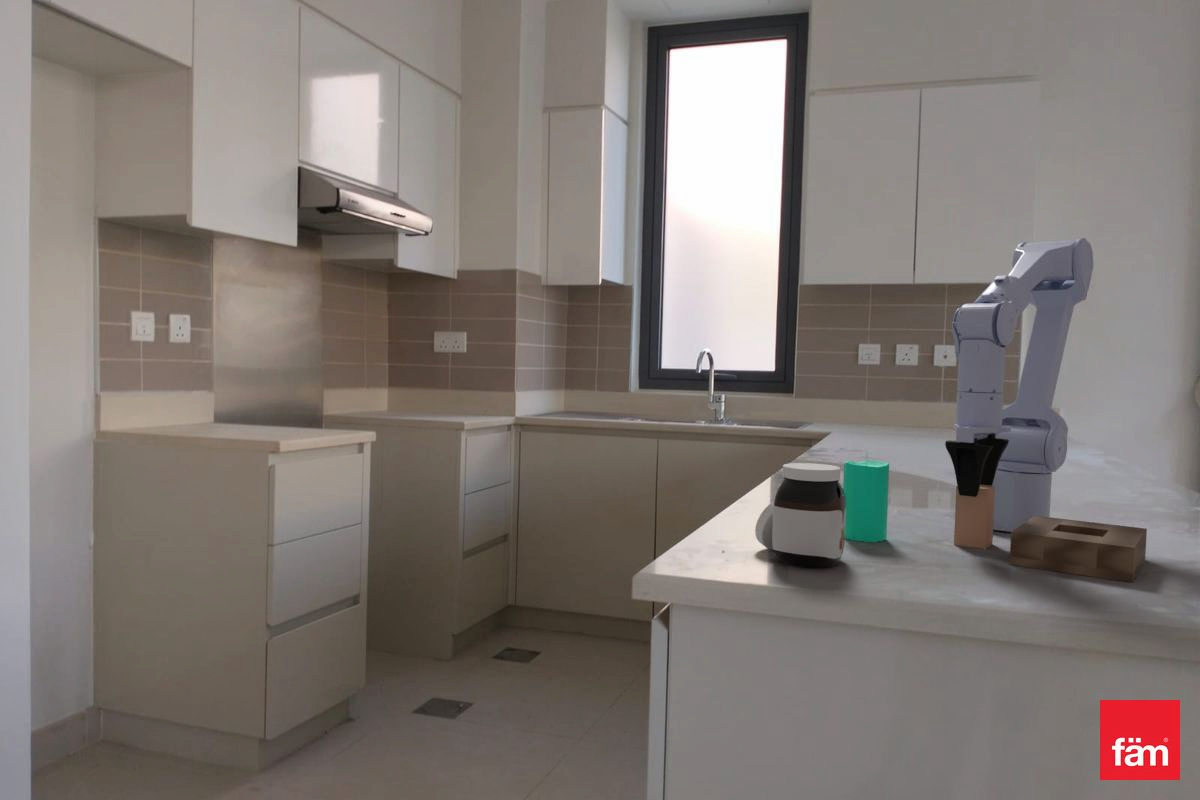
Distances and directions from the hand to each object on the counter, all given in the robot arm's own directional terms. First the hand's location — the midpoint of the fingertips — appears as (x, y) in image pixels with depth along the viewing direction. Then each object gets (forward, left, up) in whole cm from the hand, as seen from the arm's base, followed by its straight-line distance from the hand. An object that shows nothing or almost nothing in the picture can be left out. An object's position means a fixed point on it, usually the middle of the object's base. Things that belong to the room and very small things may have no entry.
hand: (975, 492), depth 119 cm
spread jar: (-15, -24, -7) cm, 29 cm away
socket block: (+13, -2, -7) cm, 15 cm away
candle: (-13, -6, -7) cm, 16 cm away
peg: (0, 0, -7) cm, 7 cm away
